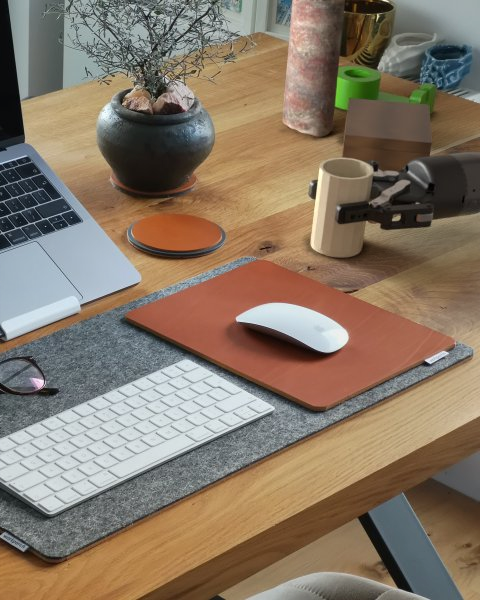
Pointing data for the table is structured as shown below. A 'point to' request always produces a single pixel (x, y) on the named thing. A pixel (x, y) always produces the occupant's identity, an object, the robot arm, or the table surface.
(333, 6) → the candle
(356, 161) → the pen cup
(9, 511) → the table surface
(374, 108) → the dark walnut wood block
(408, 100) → the tape dispenser
